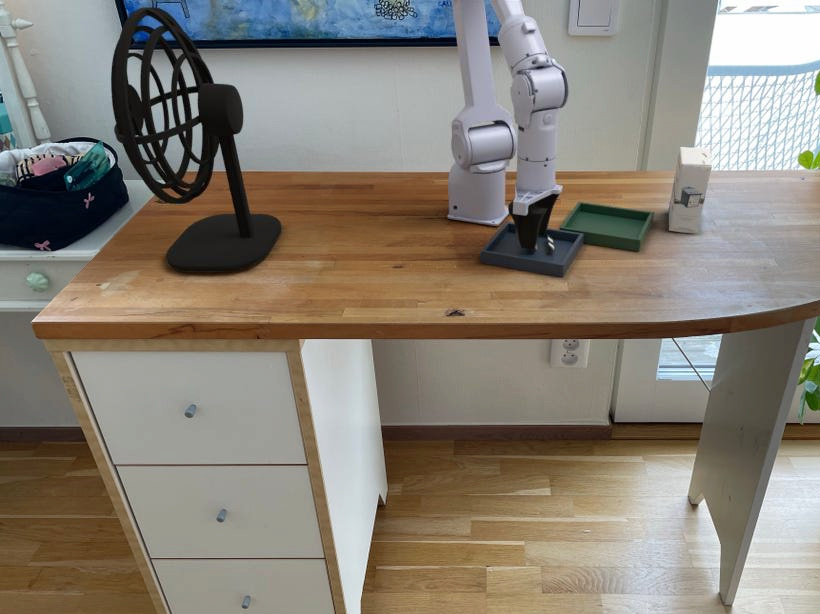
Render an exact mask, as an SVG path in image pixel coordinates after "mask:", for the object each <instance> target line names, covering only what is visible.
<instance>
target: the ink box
mask: <svg viewBox="0 0 820 614" xmlns="http://www.w3.org/2000/svg"><path fill="white" fill-rule="evenodd" d="M712 168H713V160H712V155H711V150H710V148H707V147H688V146H680V147H679V150H678V157H677V162H676V167H675V173H674V178H673V184H672V185H673V186H672V191H671V196H670V200H669V206H668V231H669V232H675V233H684V234H694V235H697V234H698V232H699V228H700V223H701V219H702V215H703V210H704V205H705V201H706V197H707V196H706V195H707V191H708V187H709V182H710V177H711V173H712Z"/></svg>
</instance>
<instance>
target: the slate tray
mask: <svg viewBox="0 0 820 614" xmlns="http://www.w3.org/2000/svg"><path fill="white" fill-rule="evenodd" d="M547 234H548V235H550V236H551V237H552V240H553V245H554V249H555V252H553V251H552V250H551V249H550V248H549V243H548V237H547ZM583 240H584V234H583V233H577V232H570V231H564V230H559V229H556V228H551V227H547V230H546V233H545V235H538V239H537V250H536V251H532V250H530V249H526V248H521V245H520V243H519V241H518V239H517V236H516V225H515V223H514V222H512V221H506V222H505V223H504V224H503V225H502V226H501V227H500V228H499V229H498V231H496V233H495V234H494V235H493V236H492V237H491V239H490V240H489V241H488V242H486V244H485V245H484V246H483V248H482V249H481V250H480V263H481V264H487V265H491V266H497V267H503V268H509V269H514V270H520V271H526V272H532V273H537V274H544V275H549V276H553V277H554V276H555V277H560V278H563V277H564V276H565V274H567V273H566V272H568V270H569V268H570V266H571V265H572V263H573V262H574V260H575V259H576V257H577V255H578V254H579V252H580V251H581V249H582V247H583V246H584V243H583Z"/></svg>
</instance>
